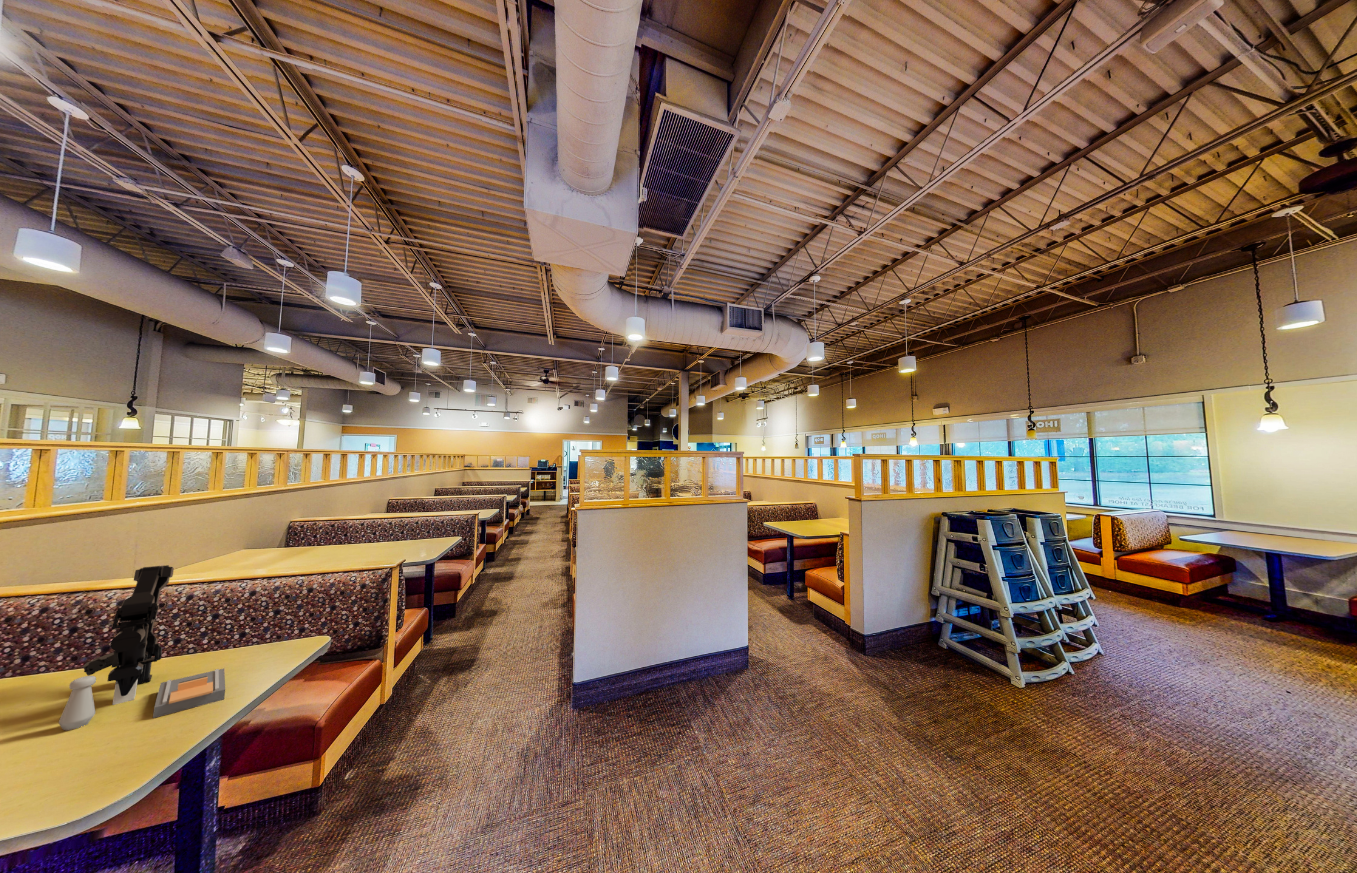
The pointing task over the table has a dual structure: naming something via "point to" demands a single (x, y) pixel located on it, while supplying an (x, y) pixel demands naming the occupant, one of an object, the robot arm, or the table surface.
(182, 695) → the shutter
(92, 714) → the salt shaker
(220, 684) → the socket block
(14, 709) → the table surface
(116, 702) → the plug
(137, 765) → the table surface
